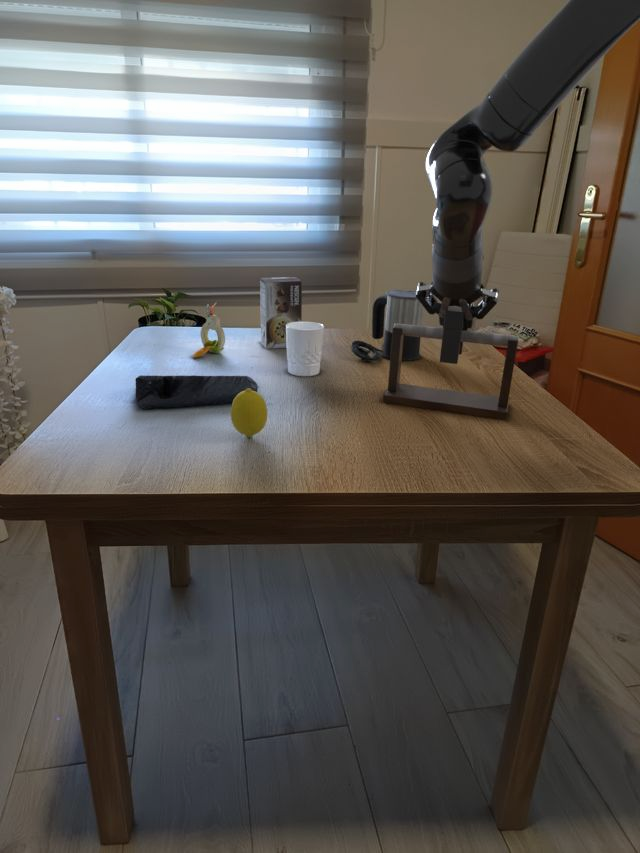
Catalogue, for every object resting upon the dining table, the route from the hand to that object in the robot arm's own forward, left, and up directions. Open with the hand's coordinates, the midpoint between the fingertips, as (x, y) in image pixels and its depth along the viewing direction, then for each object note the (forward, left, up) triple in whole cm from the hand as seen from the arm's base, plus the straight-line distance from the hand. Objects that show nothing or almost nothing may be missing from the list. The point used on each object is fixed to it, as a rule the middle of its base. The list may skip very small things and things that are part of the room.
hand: (456, 325), depth 103 cm
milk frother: (0, -30, -15) cm, 34 cm away
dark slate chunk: (+45, -11, -15) cm, 49 cm away
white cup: (+22, -22, -15) cm, 35 cm away
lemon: (+39, +10, -15) cm, 43 cm away
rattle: (+41, -40, -15) cm, 59 cm away
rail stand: (+1, +2, -14) cm, 14 cm away
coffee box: (+22, -45, -15) cm, 53 cm away
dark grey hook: (+1, +2, -5) cm, 6 cm away
